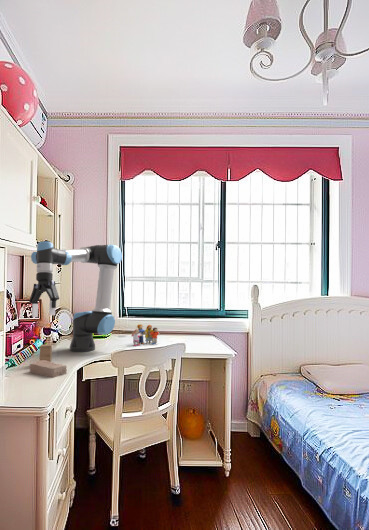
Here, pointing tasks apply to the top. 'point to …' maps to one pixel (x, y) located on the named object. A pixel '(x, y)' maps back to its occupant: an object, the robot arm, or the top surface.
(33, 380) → the top surface
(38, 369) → the brick
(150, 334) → the doll family
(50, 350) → the walnut block
